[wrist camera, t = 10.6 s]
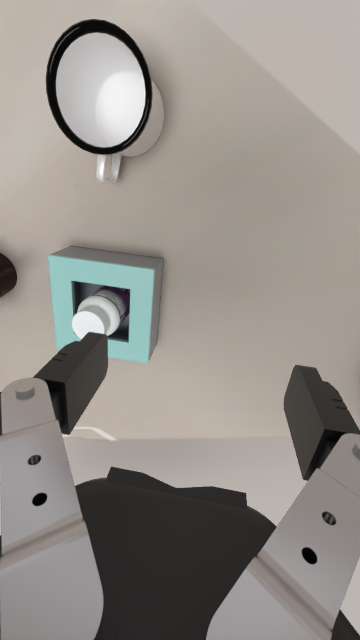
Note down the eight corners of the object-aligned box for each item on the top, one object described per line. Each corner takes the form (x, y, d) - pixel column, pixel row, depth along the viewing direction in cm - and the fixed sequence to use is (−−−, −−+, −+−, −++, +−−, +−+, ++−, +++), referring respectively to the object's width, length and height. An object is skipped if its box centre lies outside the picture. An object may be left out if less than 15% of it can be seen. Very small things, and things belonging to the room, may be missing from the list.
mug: (92, 51, 31) (46, 4, 23) (178, 73, 31) (161, 33, 23) (83, 174, 36) (42, 170, 28) (156, 193, 36) (136, 195, 28)
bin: (163, 258, 39) (154, 270, 34) (157, 342, 45) (147, 363, 40) (71, 246, 40) (47, 255, 35) (76, 329, 46) (56, 348, 41)
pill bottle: (115, 321, 44) (85, 354, 35) (93, 291, 42) (56, 319, 34) (143, 304, 42) (118, 335, 33) (120, 273, 40) (89, 297, 32)
